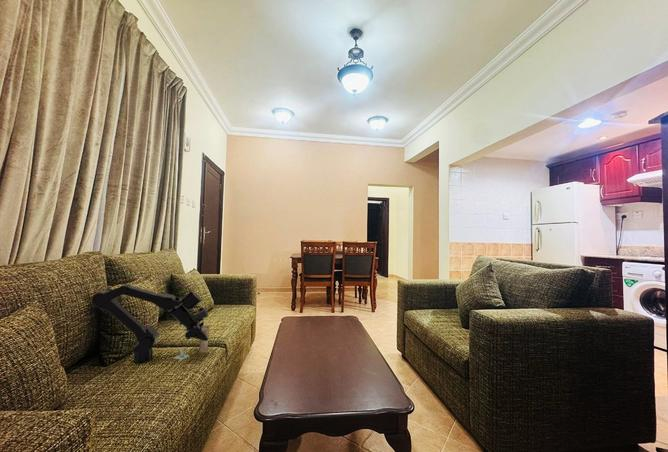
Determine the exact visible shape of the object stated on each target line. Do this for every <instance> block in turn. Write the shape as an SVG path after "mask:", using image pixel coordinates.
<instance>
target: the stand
mask: <svg viewBox="0 0 668 452" xmlns="http://www.w3.org/2000/svg"><path fill="white" fill-rule="evenodd" d="M179 351H180V353H179V355H177V356H175V357H173V359H175V360H181V361H182V360H184V359H187V358H188V357H191V355H188V354H185V349H180V350H179Z"/></svg>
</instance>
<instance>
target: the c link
mask: <svg viewBox="0 0 668 452" xmlns="http://www.w3.org/2000/svg"><path fill="white" fill-rule="evenodd" d="M202 332H203V333H204V334H205V335H206V337H207V338H208V340H207V341H204V340H200V339H199V347H198V353H207V352H208V348H209V338H210V337H209V336H210V335H209V333H210V325H203V326H202Z"/></svg>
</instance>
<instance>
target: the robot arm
mask: <svg viewBox="0 0 668 452" xmlns="http://www.w3.org/2000/svg"><path fill="white" fill-rule="evenodd" d="M123 295H124V296H128V297H132V298H134V299H139V300H142V301H145V302H149V303H151V304H154V305H155V306H156V307H158V308H160V309H163V310H166V318H169V317H170V316H173V317H174V318H175V319H176V320H177V321H178V322H179V323H178V324H179V325H180V326H183V327H184V328H185V331H186V332H185V336H184V338H186V339H187V340H190V339H191V338H194V339H197V340H199V341H200V340H204V341H207V340H208V341H209V338H207V337H206V335H205V334H204V333H203V332H202V326H204V323H205V321H204V319H205V318H207V317H208V316H209V313H208V309H207V308H205V307H203V306H201V307H199V309H198V311H196V312H195V313H194V312H193V311H189V310H192V309H194V308H195V307H196V306H197V305H199V303H201V302H202V297H200V295H199V294H197V293H195V292H194V291H192V290H190V291H189V292H188V293H187V294H186V295H185V296H184V297H182V296H181V297H180V296H175V295H174V294H169V293H158V292H157V293H156V292H154V291H150V290H148V289H144V288H140V287H136V286H134V285H131V284H129V283H124V284H123V285H121V286H119V287H117V288H114V289H110V290H109V289H106V290H102V291H100V292H98V293H95V294H94V295H92V298H91V303H92V305H93V306H94V307H96V308H98V309H100V310H102V311H105V312H108V313H109V314H111V315H112V316H113V317H114V318H116V320H118V321H119V322H120V323H121V324H122V325H124V326H125V328H127V329H128V330H129V331H130V332H132V333H133V335H134V336H135V340H136V341H137V343H136V345H135V346H134V347H133V348H132V351H133V363H135V364H138V365H139V364H144V363H147V362H149V361H150V360H151V359H152V358H153V353H154V350H153V346H154V344H155V343H156V342H157V340H158V338H159V332H158V329H156V328H155V327H154V326H153V325H152V324H149V326H146V325H145V324H143V323H142V322H140V321H139V320H138V319H137V318H136V317H135V316H134V315H132V314H131V313H130V311H128V310H127V309H126V308H125V307H123V305H121V304H120V302H119V300H118V299H119V298H118V297H120V296H123Z"/></svg>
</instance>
